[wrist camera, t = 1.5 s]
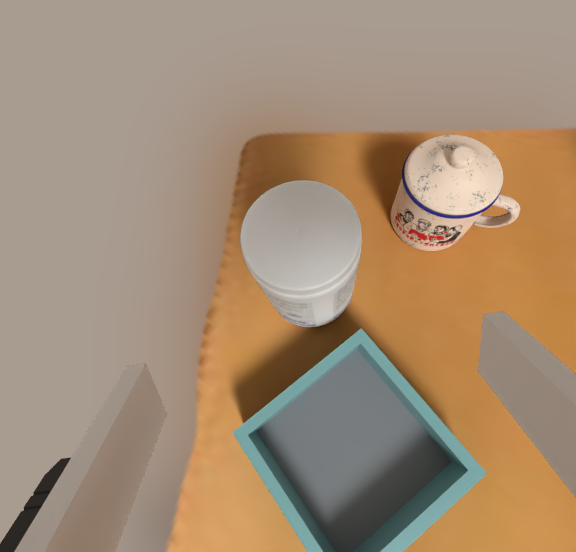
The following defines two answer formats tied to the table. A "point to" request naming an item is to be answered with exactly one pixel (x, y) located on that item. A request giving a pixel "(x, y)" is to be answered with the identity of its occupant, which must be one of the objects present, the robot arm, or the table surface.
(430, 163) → the teacup with lid
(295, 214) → the supplement tub
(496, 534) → the table surface
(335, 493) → the open square box
